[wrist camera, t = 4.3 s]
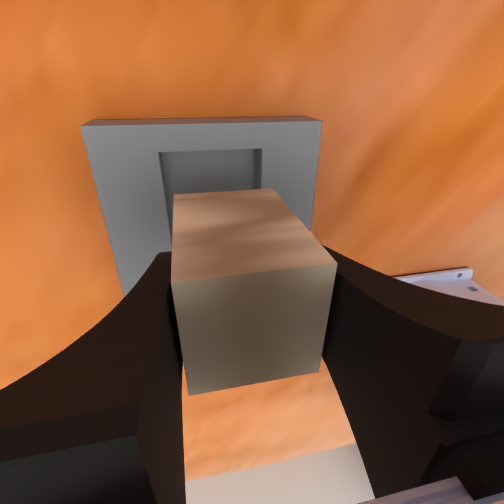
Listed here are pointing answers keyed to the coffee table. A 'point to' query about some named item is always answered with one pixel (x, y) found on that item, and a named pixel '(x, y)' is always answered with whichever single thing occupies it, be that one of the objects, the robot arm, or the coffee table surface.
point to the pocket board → (192, 173)
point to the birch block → (247, 289)
